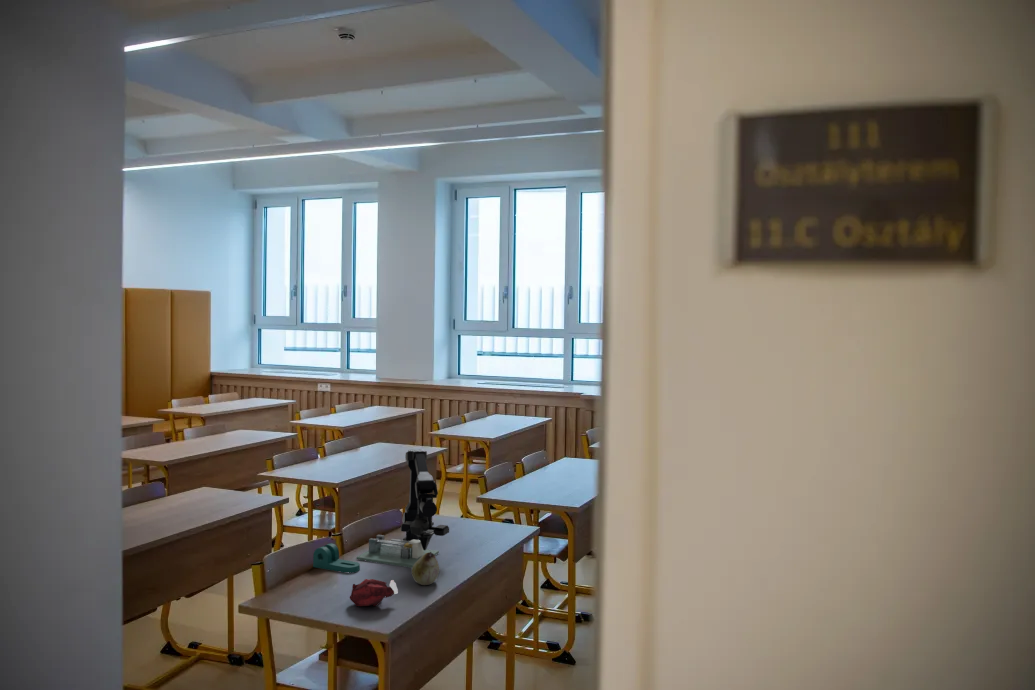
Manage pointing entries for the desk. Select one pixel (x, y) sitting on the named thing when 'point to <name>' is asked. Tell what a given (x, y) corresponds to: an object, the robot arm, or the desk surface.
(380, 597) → the red meat drumstick
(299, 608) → the desk surface
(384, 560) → the board
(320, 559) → the bracket
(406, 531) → the robot arm
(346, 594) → the desk surface
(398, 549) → the grey rail mechanism
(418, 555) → the white block
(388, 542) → the gold-ended metal bar
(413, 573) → the fruit
